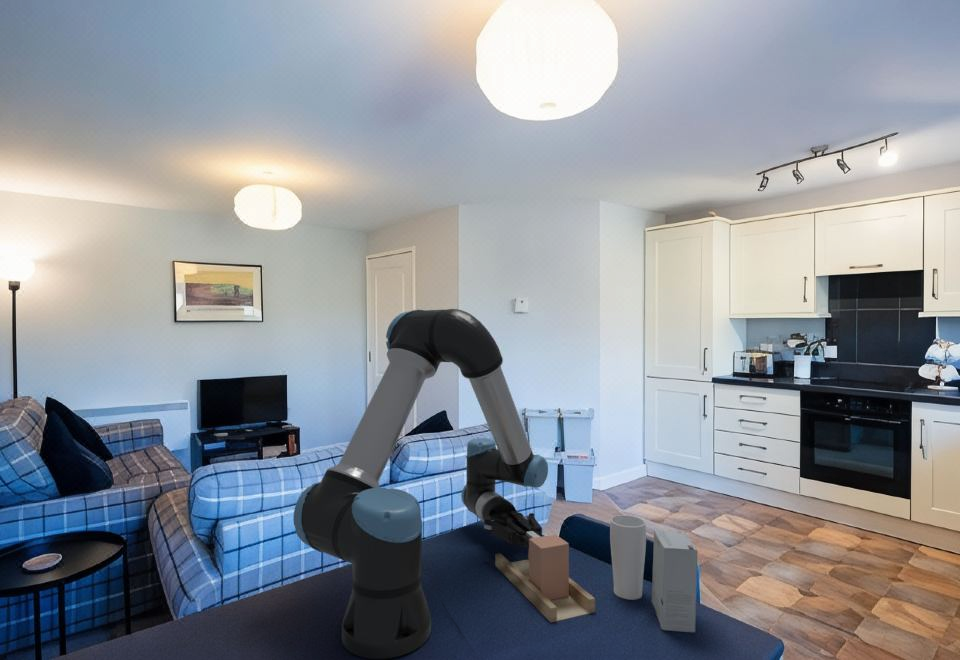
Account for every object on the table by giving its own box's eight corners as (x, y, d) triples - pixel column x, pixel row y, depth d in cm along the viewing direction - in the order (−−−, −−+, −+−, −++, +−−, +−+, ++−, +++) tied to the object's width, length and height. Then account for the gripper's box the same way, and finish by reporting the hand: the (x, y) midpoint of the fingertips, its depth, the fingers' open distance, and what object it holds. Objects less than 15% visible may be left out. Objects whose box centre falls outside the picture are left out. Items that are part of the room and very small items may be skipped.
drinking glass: (611, 604, 98) (611, 525, 98) (608, 587, 104) (608, 513, 104) (648, 608, 96) (648, 528, 96) (643, 590, 103) (643, 515, 103)
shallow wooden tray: (495, 569, 112) (495, 554, 112) (532, 562, 115) (532, 547, 115) (550, 628, 90) (550, 608, 90) (594, 617, 93) (595, 598, 93)
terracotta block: (528, 589, 101) (529, 538, 101) (555, 584, 103) (555, 534, 103) (541, 602, 96) (541, 548, 96) (568, 595, 98) (568, 543, 99)
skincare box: (651, 607, 97) (650, 528, 97) (684, 608, 96) (683, 529, 96) (662, 632, 88) (662, 546, 89) (698, 634, 88) (698, 547, 88)
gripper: (520, 523, 127) (572, 563, 105) (471, 531, 122) (515, 574, 100) (520, 493, 127) (572, 526, 105) (471, 499, 122) (515, 535, 100)
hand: (544, 549), depth 102 cm, fingers closed
